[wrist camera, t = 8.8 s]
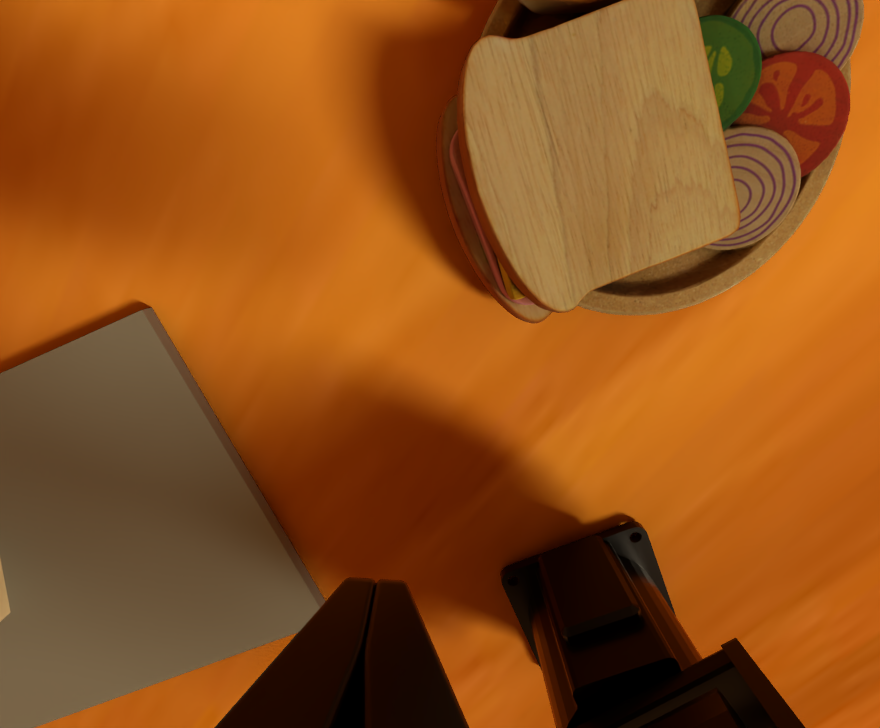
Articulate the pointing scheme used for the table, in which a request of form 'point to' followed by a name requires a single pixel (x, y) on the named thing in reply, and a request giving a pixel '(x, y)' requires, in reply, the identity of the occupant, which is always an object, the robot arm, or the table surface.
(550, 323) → the table surface
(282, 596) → the rubber mat
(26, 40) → the table surface
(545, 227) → the toy sandwich meal
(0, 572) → the maple block
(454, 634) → the table surface
